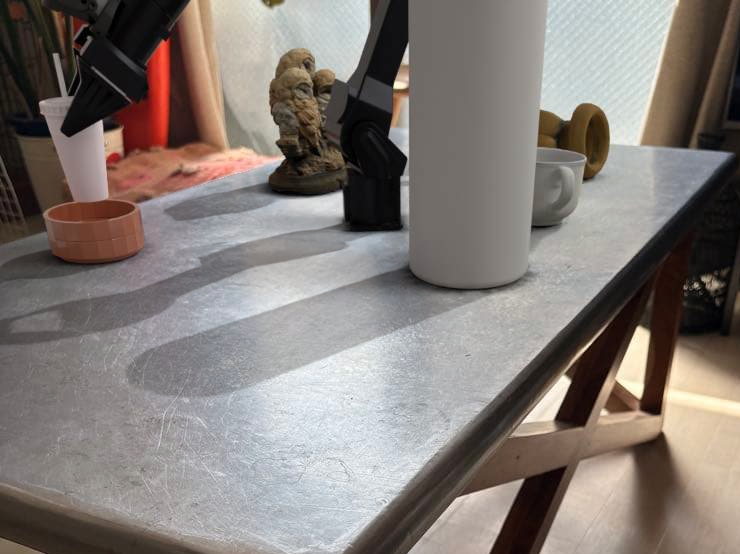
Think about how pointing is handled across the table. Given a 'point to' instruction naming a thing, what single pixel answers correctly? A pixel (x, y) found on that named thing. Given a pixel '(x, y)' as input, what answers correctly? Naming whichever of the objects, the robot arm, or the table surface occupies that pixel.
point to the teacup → (556, 185)
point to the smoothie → (77, 148)
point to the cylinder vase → (473, 138)
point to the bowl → (95, 230)
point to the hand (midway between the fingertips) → (63, 128)
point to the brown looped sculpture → (578, 135)
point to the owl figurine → (303, 126)
